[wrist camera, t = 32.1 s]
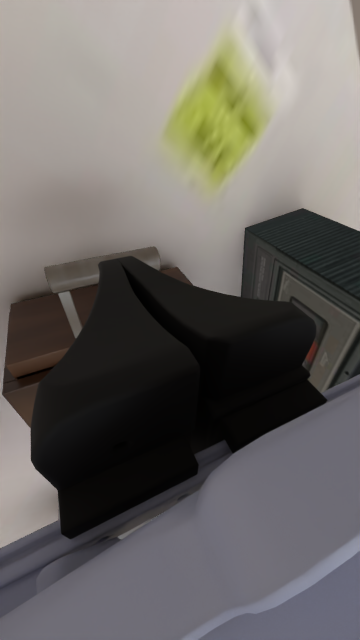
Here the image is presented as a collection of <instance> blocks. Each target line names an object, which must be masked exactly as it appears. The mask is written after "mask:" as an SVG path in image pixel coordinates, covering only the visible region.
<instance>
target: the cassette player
mask: <svg viewBox="0 0 360 640" xmlns="http://www.w3.org/2000/svg"><path fill="white" fill-rule="evenodd" d="M241 297H243V298H250V299H258V300H272V301H286V302H292V303H293V304H294V305H295V306H297V307H298V308H299V309H301V310H302V311H303V312H304V313H306V314H307V315H308V316H309V317H311V318H312V319H313V320H314V321H315V324H316V337H315V339H314V342H313V345H312V346H311V348H310V350H309V352H308V354H307V356H306V358H305V360H304V362H303V364H302V366H303V367H304V368H306V369H307V370H308V371H309V372H310V375H311V376H310V377H309V379H308V381H309V382H310V383H311V384H312V385H313V386H314V387H315V388H316V389H317V390H318V391H319V392H320V393H322V392H324V391H326V390H328V389H330V388H332V387H334V386H336V385H338V384H341V383H343V382H345V381H347V380H349V379H351V378H353V377H355V376H357V375H359V374H360V231H357V230H355V229H352V228H350V227H347V226H345V225H343V224H340V223H338V222H335V221H333V220H330V219H328V218H325V217H323V216H321V215H318V214H316V213H313V212H311V211H308V210H306V209H300V210H297V211H294V212H291V213H288V214H285V215H282V216H279V217H276V218H273V219H271V220H268V221H265V222H262V223H259V224H256V225H253V226H250V227H247V228H245V241H244V257H243V274H242V290H241Z"/></svg>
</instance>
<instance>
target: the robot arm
mask: <svg viewBox="0 0 360 640" xmlns="http://www.w3.org/2000/svg"><path fill="white" fill-rule="evenodd" d="M98 267H99V283H98V289H97V293H96V296H95V300H94V303H93V306H92V309H91V311H90V314H89V316H88V318H87V320H86V322H85V324H84V326H83V328H82V330H81V332H80V333H79V335H78V336H77V338H76V340H75V341H74V342H73V344H72V345H71V347H70V348H69V349H68V351H67V352H66V354H65V355H64V356H63V358H62V359H61V360H60V361H59V362H58V363H57V364H56V365H55V367H54V368H53V369H52V370H51V371H50V372H49V373H48V374H47V375H46V376H45V377H44V378H43V379H42V380H41V381H40V383H39V384H38V388H37V392H36V397H35V401H34V407H33V413H32V421H31V461H32V463H33V465H34V467H35V469H36V470H37V471H38V472H39V473H41V474H42V475H43V476H44V477H45V478H46V479H47V480H48V481H49V482H50V483H51V484H52V485H53V486H54V487H55V488H56V489H57V490H58V500H59V513H60V520H58V521H56V522H54V523H52V524H50V525H47V526H45V527H43V528H41V529H39V530H37V531H35V532H33V533H31V534H29V535H27V536H25V537H23V538H21V539H19V540H17V541H14V542H12V543H10V544H8V545H6V546H4V547H2V548H0V640H360V374H359V375H357V376H355V377H353V378H351V379H349V380H347V381H345V382H343V383H341V384H338V385H336V386H334V387H332V388H330V389H328V390H326V391H324V392H322V393H320V392H319V391H318V390H317V389H316V388H315V387H314V386H313V385H312V384H311V383H310V382H309V381H308V379H309V377H310V376H311V375H310V372H309V371H308V370H307V369H306V368H304V367H303V366H302V364H303V362H304V360H305V358H306V356H307V354H308V352H309V350H310V348H311V346H312V345H313V342H314V339H315V337H316V324H315V321H314V320H313V319H312V318H311V317H309V316H308V315H307V314H306V313H304V312H303V311H302V310H301V309H299V308H298V307H297V306H295V305H294V304H293V303H292V302H286V301H272V300H258V299H250V298H243V297H237V296H231V295H226V294H222V293H217V292H213V291H209V290H206V289H202V288H199V287H196V286H193V285H190V284H187V283H185V282H182V281H180V280H177V279H175V278H173V277H171V276H168V275H166V274H164V273H162V272H160V271H158V270H157V269H155V268H153V267H151V266H149V265H147V264H146V263H144V262H142V261H140V260H139V259H137V258H135V257H133V256H126V257H121V258H116V259H111V260H106V261H101V262H100V263H99V264H98ZM166 510H167V511H166ZM163 512H164V513H163ZM161 513H162V514H161ZM159 514H160V515H159ZM157 515H159V516H157ZM155 516H157V517H156V518H154V519H153V520H151V521H150V522H148V523H147V524H145V525H143V526H142V527H140V528H139V529H137V530H136V531H134V532H133V533H131V534H130V535H128V536H126V537H125V538H123V539H122V540H121V539H119V538H118V536H120V535H122V534H124V533H126V532H128V531H129V530H131V529H133V528H135V527H137V526H139V525H141V524H142V523H144V522H146V521H148V520H150V519H152V518H153V517H155Z"/></svg>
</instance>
